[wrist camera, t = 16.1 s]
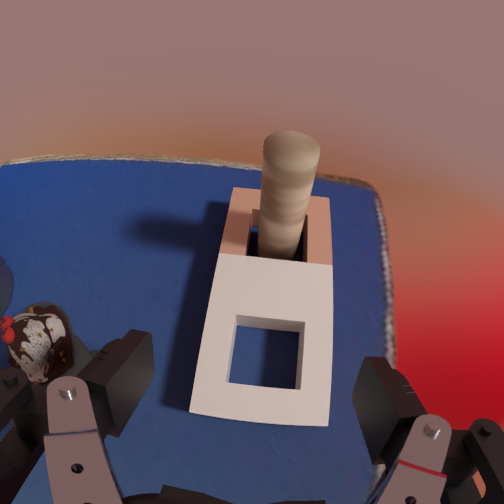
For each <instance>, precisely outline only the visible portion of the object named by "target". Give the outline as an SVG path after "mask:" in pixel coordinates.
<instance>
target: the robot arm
mask: <svg viewBox="0 0 504 504" xmlns="http://www.w3.org/2000/svg"><path fill="white" fill-rule="evenodd" d="M12 291H13V276H12V272H11V271H10V269H9V268H8V267H7V266H6V265H5V260H4V259H3V258H2V257H1V256H0V317H1V315H2V314H3V313H4V311H5V310H6V308H7V306H8V304H9V301H10V298H11V295H12ZM153 373H154V359H153V344H152V335H151V333H148V332H143V331H139V330H134V329H131V330H130V331H129V332H128V333H127V334H126V335H125V336H124V337H123V338H122V339H116V340H114V341H111V342H109V343H107V344H106V345H105V346H104V347H103V348H102V349H101V350H100V352H98V353H97V354H96V355H95V356H94V358H92V359H91V361H90V362H89V363H88V364H87V365H86V366H85V367H84V368H83V369H82V370H81V371H80V372H79V373H78V374H77V375H76V376H75V377H73V376H64V377H59V378H57V379H55V380H53V381H52V382H51V383H50V384H49V385H48V386H44V385H38V384H32V383H30V382H29V379H28V376H27V374H26V372H25V371H24V370H22V369H19V368H14V367H11V368H5V369H3V370H1V371H0V432H1V431H2V429H3V428H4V427H5V426H6V425H7V423H8V422H9V421H11V423H12V425H13V427H12V428H11V430H10V431H9V432H8V433H7V434H6V436H5V437H4V438H3V439H2V441H1V442H0V504H11V503H12V501H13V500H14V498H15V496H16V495H17V493H18V491H19V490H20V488H21V487H22V485H23V483H24V482H25V480H26V478H27V477H28V475H29V474H30V472H31V471H32V469H33V467H34V466H35V464H36V463H37V461H38V460H39V458H40V457H41V455H42V454H43V452H44V451H45V455H46V462H47V469H48V475H49V481H50V486H51V492H52V496H53V501H54V504H232V503H229V502H226V501H223V500H220V499H218V498H215V497H212V496H209V495H207V494H204V493H200V492H195V491H190V490H185V489H180V488H176V487H171V486H167V485H163V487H162V490H161V493H160V494H159V493H149V494H138V495H132V496H128V497H124V494H123V492H122V490H121V487H120V485H119V483H118V480H117V477H116V475H115V472H114V469H113V467H112V464H111V461H110V458H109V455H108V452H107V449H106V446H105V443H104V439H105V437H106V435H107V434H109V435H112V436H115V437H118V438H119V436H120V434H121V432H122V431H123V429H124V427H125V425H126V424H127V422H128V420H129V419H130V417H131V415H132V413H133V412H134V410H135V408H136V406H137V405H138V403H139V401H140V400H141V398H142V396H143V394H144V393H145V391H146V389H147V388H148V386H149V384H150V383H151V381H152V378H153ZM352 401H353V406H354V408H355V411H356V414H357V417H358V420H359V423H360V426H361V430H362V433H363V436H364V439H365V442H366V445H367V448H368V451H369V455H370V458H371V461H372V464H373V465H378V464H385V466H386V469H385V470H384V472H383V473H382V475H381V477H380V479H379V480H378V482H377V484H376V485H375V487H374V489H373V490H372V492H371V494H370V495H369V497H368V498H367V500H366V502H365V503H364V504H439V501H440V502H441V504H504V432H503V431H502V429H501V428H500V427H499V425H498V424H497V423H495V422H494V421H492V420H489V419H484V418H482V419H477V420H475V421H474V422H473V423H472V425H471V427H470V428H469V430H453V429H451V427H450V425H449V423H448V422H447V421H446V420H444V419H443V418H441V417H439V416H436V415H431V414H428V413H427V411H426V410H425V408H424V407H423V405H422V403H421V402H420V400H419V398H418V397H417V395H416V394H415V393H414V390H413V389H412V387H411V386H410V384H409V382H408V381H407V379H406V378H405V377H404V376H403V375H402V374H401V373H400V372H398V371H397V370H396V369H392V368H391V366H390V364H389V363H388V361H387V359H386V358H385V357H365V358H364V360H363V362H362V365H361V368H360V371H359V374H358V377H357V380H356V383H355V386H354V389H353V394H352ZM477 470H478V471H479V472H480V475H481V476H482V479H483V481H484V483H485V485H486V492H485V495H484V497H483V498H481V495H480V493H479V491H478V489H477V486H476V484H475V482H474V480H473V478H472V476H473V475H474V474H475V473H476V472H477ZM271 504H326V503H325V500H321V501H284V502H278V503H271Z"/></svg>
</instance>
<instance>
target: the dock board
mask: <svg viewBox="0 0 504 504" xmlns="http://www.w3.org/2000/svg"><path fill="white" fill-rule="evenodd" d="M260 196H261V190H257V189H246V188H235V187H234V188H233V192H232V197H231V201H230V205H229V210H228V214H227V219H226V223H225V228H224V232H223V237H222V242H221V246H220V251H219V256H218V260H217V265H216V270H215V275H214V280H213V285H212V289H211V294H210V299H209V305H208V310H207V315H206V320H205V325H204V330H203V336H202V341H201V346H200V352H199V357H198V363H197V368H196V374H195V380H194V385H193V391H192V397H191V403H190V409H189V412H191V413H196V414H201V415H207V416H213V417H219V418H226V419H233V420H241V421H249V422H259V423H269V424H283V425H301V426H328V419H329V407H330V391H331V373H332V345H333V269H332V241H331V222H330V206H329V198H325V197H317V196H310V198H309V203H308V207H307V211H306V215H305V219H304V223H303V227H302V231H301V232H303V262H297V261H288V260H279V259H270V258H261V257H252V256H247V254H248V247H249V241H250V234H251V228H252V226H256V227H259V213H260ZM237 326H245V327H253V328H262V329H271V330H281V331H292V332H299V346H298V360H297V373H296V384H295V389H281V388H270V387H260V386H251V385H243V384H235V383H228V382H229V375H230V368H231V361H232V354H233V348H234V341H235V334H236V327H237Z"/></svg>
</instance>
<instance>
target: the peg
mask: <svg viewBox="0 0 504 504" xmlns="http://www.w3.org/2000/svg"><path fill="white" fill-rule="evenodd" d="M319 155H320V147H319V145H318V143H317V142H316V141H315V140H314V139H313V138H311V137H310V136H308V135H306V134H303V133H300V132H296V131H278V132H275V133H273V134H270V135H269V136H268V137H267V138H266V139H265V141H264V146H263V163H262V180H261V196H260V213H259V229H258V245H257V254H258V257H261V258H270V259H279V260H288V261H293V259H294V257H295V254H296V250H297V246H298V243H299V239H300V235H301V231H302V227H303V223H304V219H305V215H306V211H307V207H308V203H309V198H310V194H311V190H312V186H313V182H314V177H315V173H316V168H317V164H318V160H319Z"/></svg>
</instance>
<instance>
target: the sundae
mask: <svg viewBox="0 0 504 504" xmlns="http://www.w3.org/2000/svg"><path fill="white" fill-rule="evenodd" d="M0 320H1V325H0V328H1V330H2V334H1V336H2V340H3V341H4V342H5V343H7V344H8V346H9V347H8V356H9V359H8V362H9V364H10V366H11V367H14V368H19V369H22V370H24V371H25V372H26V374H27V376H28V379H29V382H30V383H32V384H38V385H44V386H48V385H49V384H50V383H51V382H52V381H53V380H55V379H57V378H59V377H64V376H73V377H75V376H76V375H77V374H78V373H79V372H80V371H81V370H82V369H83V368H84V367H85V366H86V365H87V364H88V363H89V362H90V361H91V359H92V358H94V356H95V355H96V354H97V353H98V352H100V351H92V352H89V350H88V349H87V347H86V346H85V345H84V343H83V342H82V341H81V340H80V339H79V338H78V337H77V336H76V335H75V334H74V333H73V330H72V326H71V323H70V319H69V317H68V315H67V314H66V312H65V311H64V309H63V308H61V307H60V306H58V305H56V304H53V303H50V302H38V303H35V304H32V305H30V306H29V307H28V308H26V309H25V310H24V311H23V313H21V314H19V315H17V316H15V317H14V318H13V319H12V318H11V317H10V316H5V317H3V318H2V317H0Z"/></svg>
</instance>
